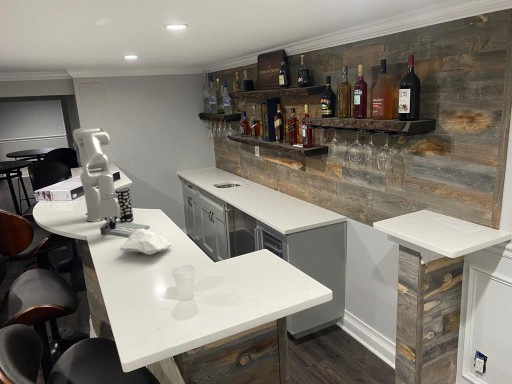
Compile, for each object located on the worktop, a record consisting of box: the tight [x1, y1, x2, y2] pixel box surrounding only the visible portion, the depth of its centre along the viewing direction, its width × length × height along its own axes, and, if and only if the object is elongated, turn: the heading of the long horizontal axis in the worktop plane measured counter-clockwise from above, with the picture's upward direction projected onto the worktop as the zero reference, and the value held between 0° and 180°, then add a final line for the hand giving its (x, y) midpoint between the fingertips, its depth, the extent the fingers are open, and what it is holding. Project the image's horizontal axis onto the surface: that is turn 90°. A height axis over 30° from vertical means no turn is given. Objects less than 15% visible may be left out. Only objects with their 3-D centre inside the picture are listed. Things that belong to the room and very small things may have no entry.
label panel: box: [107, 222, 151, 238], centre depth 224 cm, size 19×16×3 cm
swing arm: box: [99, 217, 118, 236], centre depth 216 cm, size 19×3×4 cm, turn 1°
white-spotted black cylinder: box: [115, 188, 135, 224], centre depth 240 cm, size 8×8×20 cm
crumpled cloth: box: [119, 228, 172, 255], centre depth 191 cm, size 24×35×9 cm
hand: (112, 228), depth 213 cm, fingers closed
